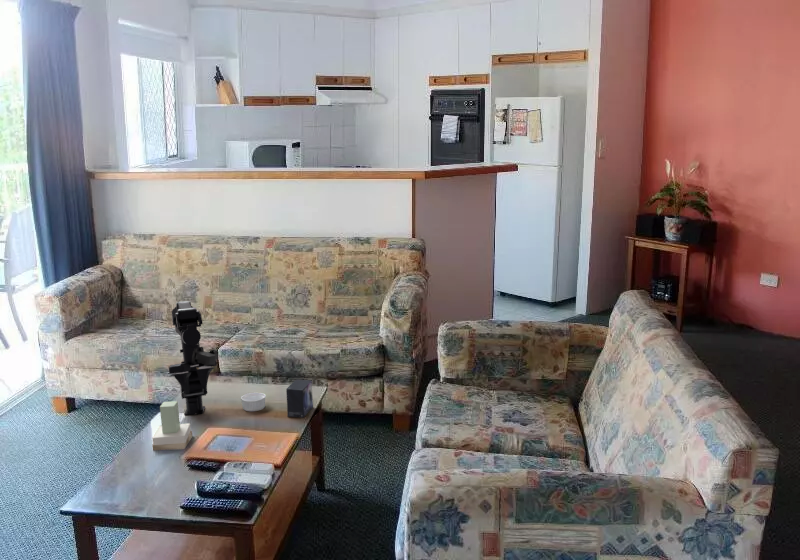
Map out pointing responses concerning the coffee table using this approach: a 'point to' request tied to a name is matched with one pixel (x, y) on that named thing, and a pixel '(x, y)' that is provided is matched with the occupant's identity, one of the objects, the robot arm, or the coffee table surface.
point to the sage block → (170, 417)
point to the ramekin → (253, 401)
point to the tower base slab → (173, 445)
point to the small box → (299, 398)
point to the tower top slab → (171, 435)
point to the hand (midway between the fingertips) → (196, 391)
